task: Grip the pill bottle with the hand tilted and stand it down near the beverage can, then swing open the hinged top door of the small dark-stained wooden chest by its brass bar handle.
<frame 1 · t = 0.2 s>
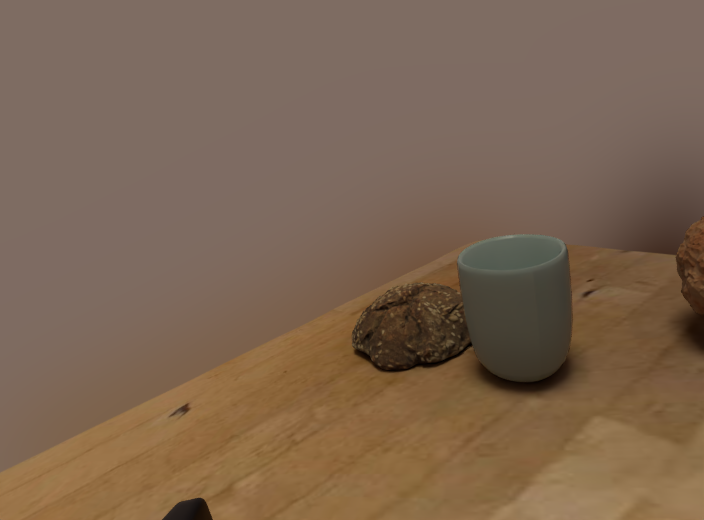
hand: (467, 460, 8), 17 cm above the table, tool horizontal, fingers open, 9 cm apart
cup: (523, 369, 38), on the table
bread roll: (417, 337, 47), on the table
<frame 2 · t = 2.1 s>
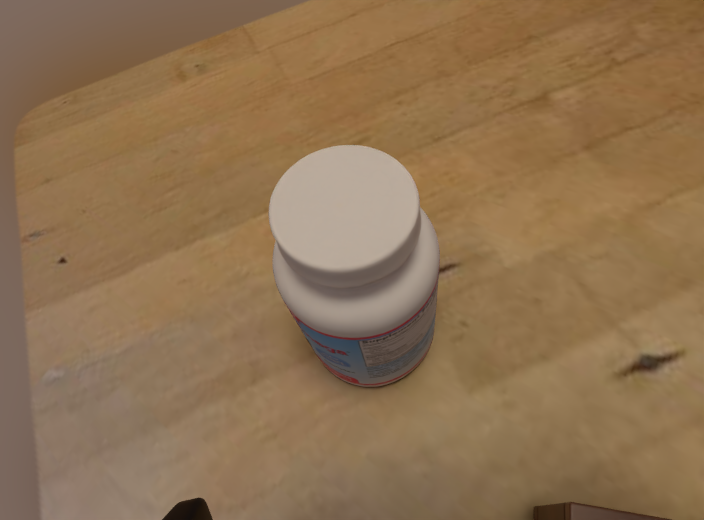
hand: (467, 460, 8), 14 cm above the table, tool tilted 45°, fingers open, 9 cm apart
pill bottle: (373, 331, 24), on the table
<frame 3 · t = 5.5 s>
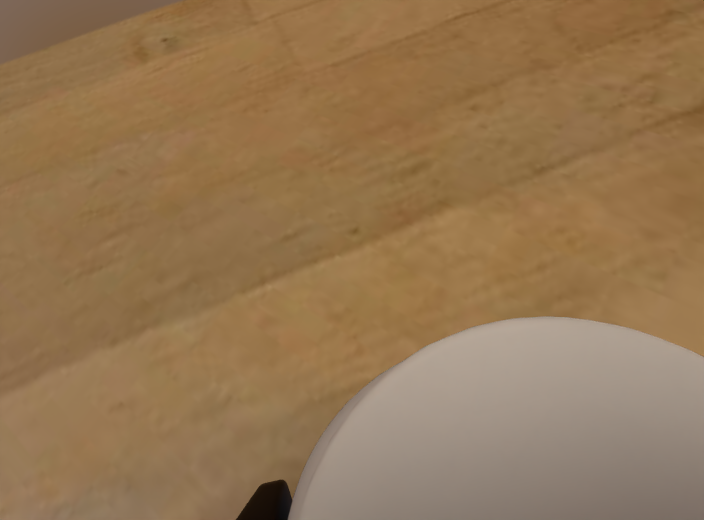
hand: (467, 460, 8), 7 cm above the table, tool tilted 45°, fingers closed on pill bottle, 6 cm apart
when the fingers open (7 cm above the table, at t = 12.2 s): pill bottle stays where it is, on the table.
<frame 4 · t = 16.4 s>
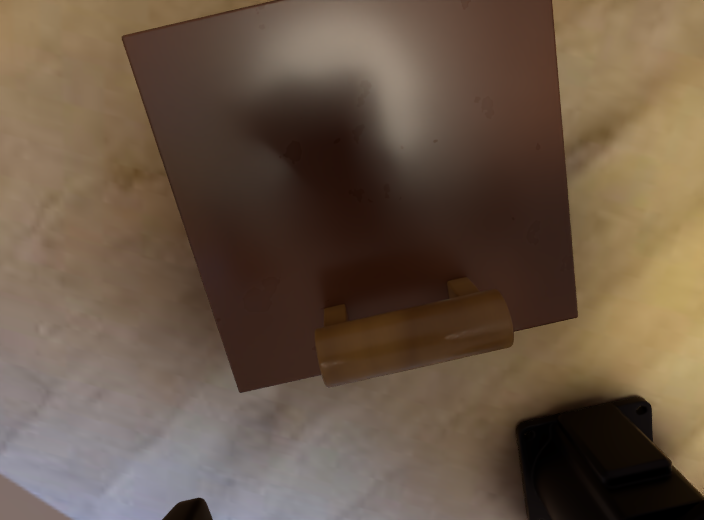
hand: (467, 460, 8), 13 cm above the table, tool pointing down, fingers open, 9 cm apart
lid: (380, 200, 13), point 7 cm above the table, hinge at 0.0°
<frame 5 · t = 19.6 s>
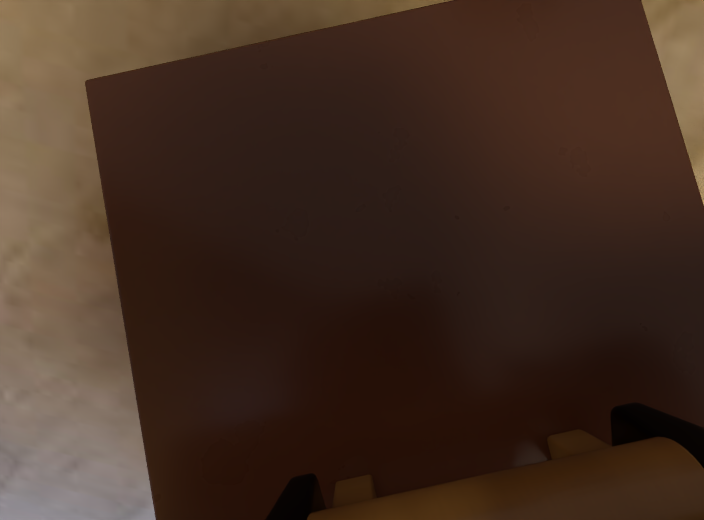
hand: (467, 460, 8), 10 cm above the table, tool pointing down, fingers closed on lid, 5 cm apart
lid: (428, 279, 8), point 9 cm above the table, hinge at 25.0°, touching gripper
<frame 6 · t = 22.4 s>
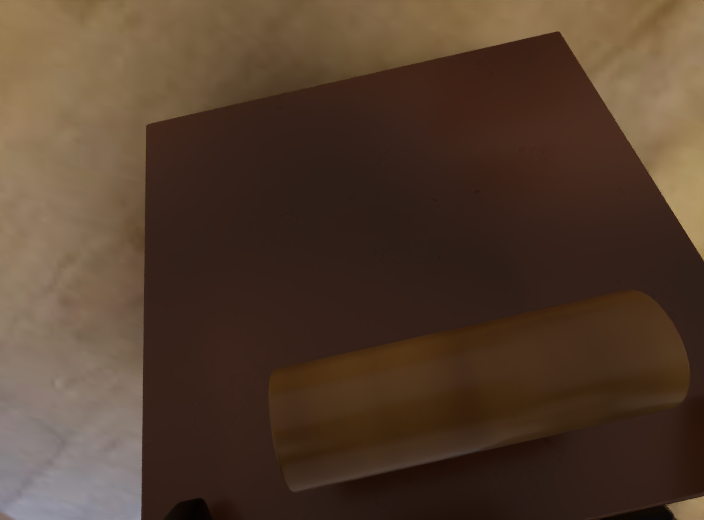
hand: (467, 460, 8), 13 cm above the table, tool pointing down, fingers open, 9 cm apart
lid: (401, 216, 9), point 10 cm above the table, hinge at 45.7°, touching gripper
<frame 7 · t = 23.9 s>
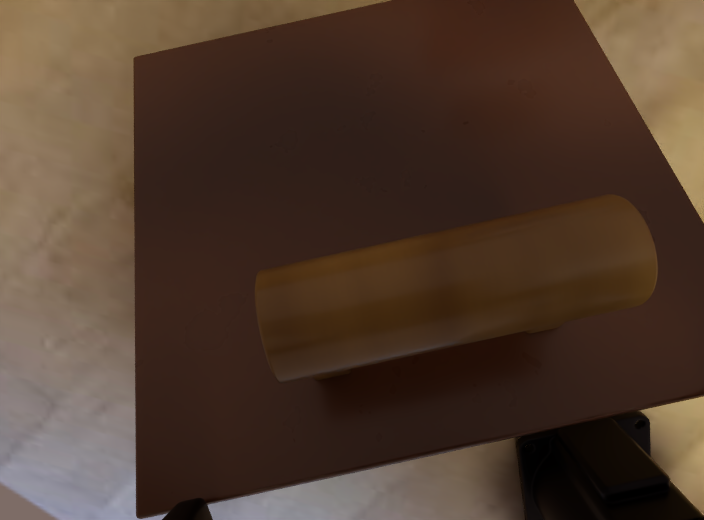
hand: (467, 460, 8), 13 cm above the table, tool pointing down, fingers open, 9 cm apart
lid: (388, 140, 9), point 10 cm above the table, hinge at 41.8°
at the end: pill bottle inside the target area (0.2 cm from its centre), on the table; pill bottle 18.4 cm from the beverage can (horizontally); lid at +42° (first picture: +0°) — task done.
